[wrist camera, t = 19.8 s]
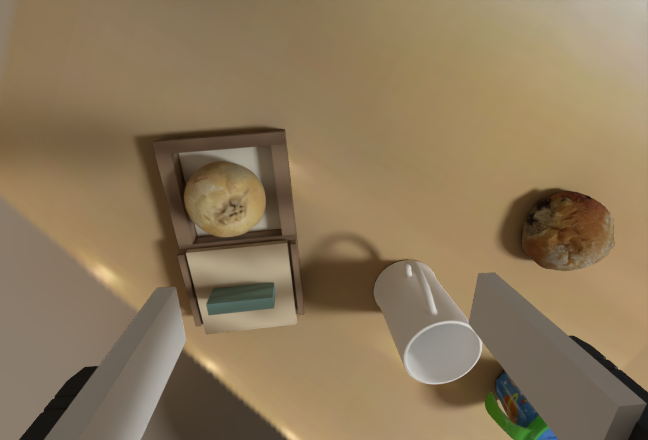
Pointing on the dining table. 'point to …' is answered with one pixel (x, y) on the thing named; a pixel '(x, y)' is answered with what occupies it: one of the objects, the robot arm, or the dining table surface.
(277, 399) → the dining table surface
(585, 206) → the bread roll
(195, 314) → the brown sliding lid box
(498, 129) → the dining table surface
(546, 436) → the snack cup
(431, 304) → the mug
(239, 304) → the cover
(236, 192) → the onion
